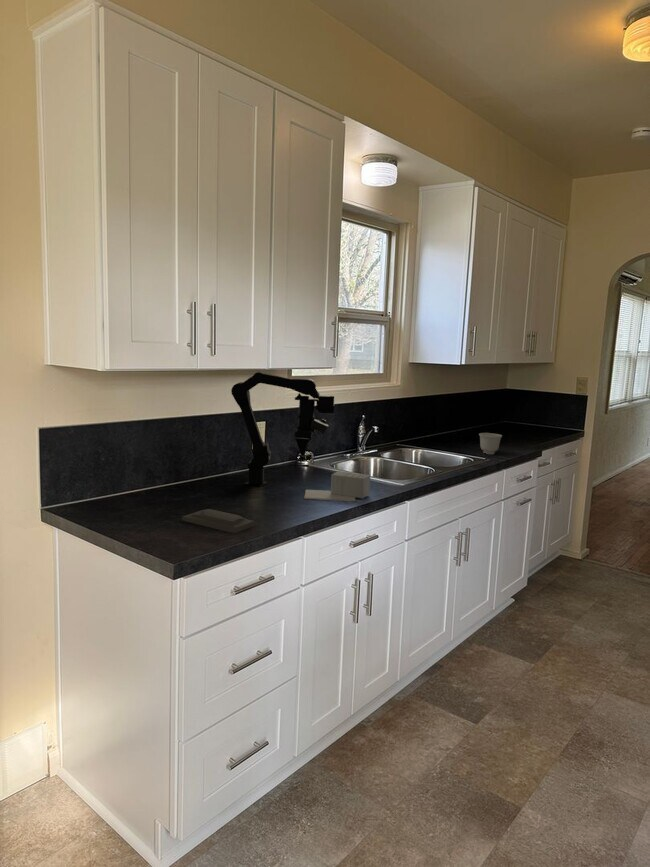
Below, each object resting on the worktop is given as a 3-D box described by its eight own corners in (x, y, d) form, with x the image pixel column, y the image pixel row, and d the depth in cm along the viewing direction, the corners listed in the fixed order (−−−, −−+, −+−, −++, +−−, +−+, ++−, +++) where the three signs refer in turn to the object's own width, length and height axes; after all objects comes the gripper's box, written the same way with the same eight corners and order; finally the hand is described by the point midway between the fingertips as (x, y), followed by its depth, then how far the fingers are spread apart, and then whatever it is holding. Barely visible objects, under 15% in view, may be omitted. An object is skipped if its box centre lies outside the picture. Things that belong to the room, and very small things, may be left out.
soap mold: (204, 515, 206) (204, 504, 205) (255, 527, 196) (256, 516, 195) (181, 522, 197) (181, 511, 196) (233, 535, 187) (234, 523, 186)
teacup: (494, 450, 351) (496, 432, 350) (503, 456, 337) (505, 436, 335) (472, 450, 351) (474, 431, 349) (481, 455, 336) (482, 435, 334)
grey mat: (304, 498, 230) (304, 497, 229) (305, 490, 241) (305, 489, 241) (355, 501, 229) (355, 500, 229) (354, 493, 241) (354, 492, 241)
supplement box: (337, 489, 243) (369, 494, 239) (330, 493, 237) (363, 499, 232) (338, 470, 242) (370, 474, 238) (331, 473, 235) (364, 478, 231)
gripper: (326, 417, 234) (323, 459, 236) (329, 411, 253) (326, 450, 255) (295, 414, 235) (293, 457, 237) (300, 409, 253) (298, 448, 255)
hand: (303, 453), depth 246 cm, fingers open, 9 cm apart
